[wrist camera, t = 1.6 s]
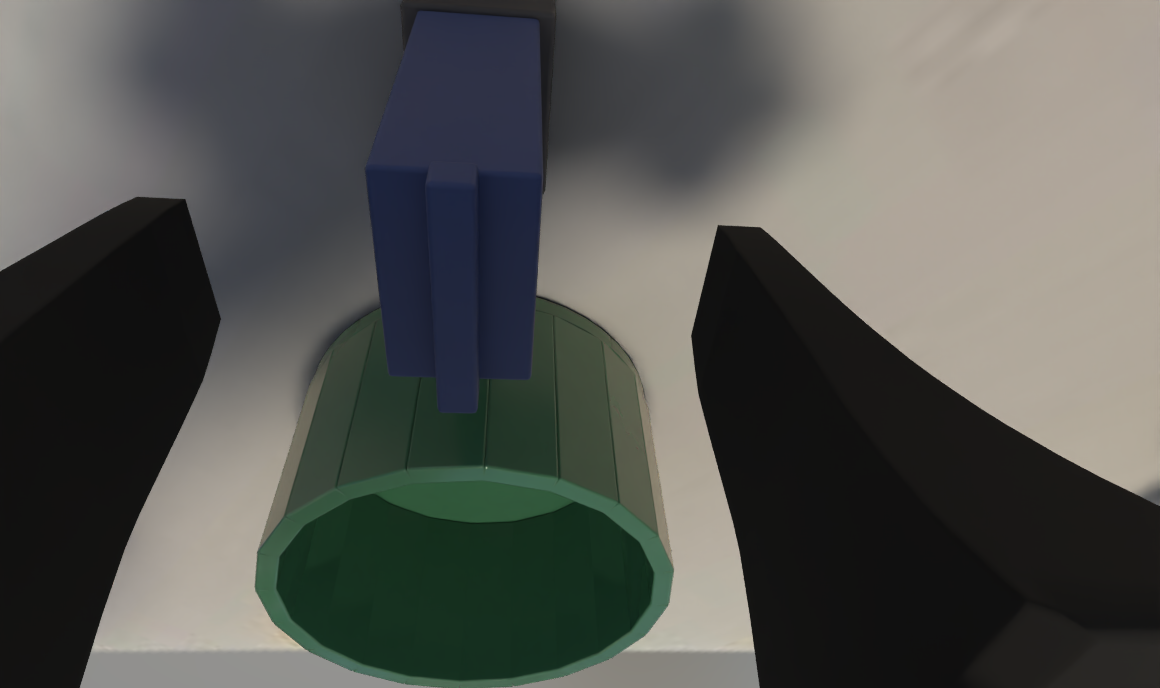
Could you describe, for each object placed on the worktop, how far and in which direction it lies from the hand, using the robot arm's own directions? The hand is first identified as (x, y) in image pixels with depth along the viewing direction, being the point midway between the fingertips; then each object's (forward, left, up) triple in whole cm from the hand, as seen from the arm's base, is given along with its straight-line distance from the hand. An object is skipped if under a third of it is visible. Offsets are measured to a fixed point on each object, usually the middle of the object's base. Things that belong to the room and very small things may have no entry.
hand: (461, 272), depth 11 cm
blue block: (0, 0, -7) cm, 7 cm away
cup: (-7, -8, -7) cm, 13 cm away
